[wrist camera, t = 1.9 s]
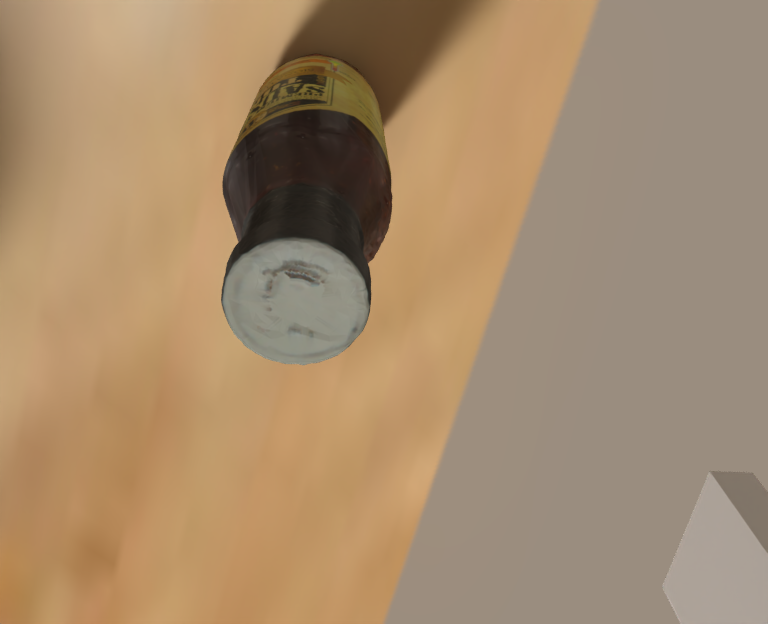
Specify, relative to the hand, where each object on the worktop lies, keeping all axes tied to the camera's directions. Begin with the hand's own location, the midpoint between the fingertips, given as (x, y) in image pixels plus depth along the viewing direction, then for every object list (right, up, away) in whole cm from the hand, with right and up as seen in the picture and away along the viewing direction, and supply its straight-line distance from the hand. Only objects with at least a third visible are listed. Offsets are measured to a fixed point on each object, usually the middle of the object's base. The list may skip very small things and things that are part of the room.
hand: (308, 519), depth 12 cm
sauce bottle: (-2, +13, +25) cm, 28 cm away
